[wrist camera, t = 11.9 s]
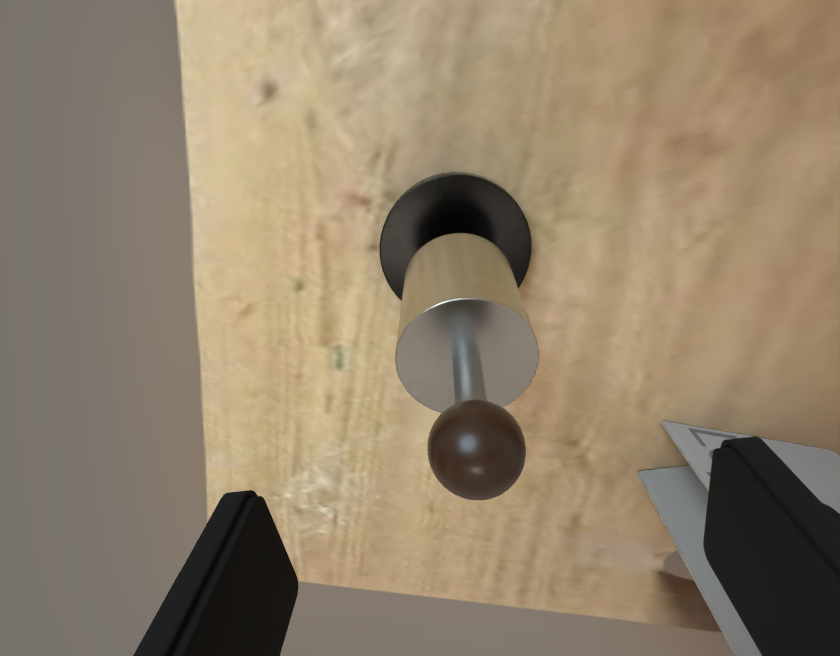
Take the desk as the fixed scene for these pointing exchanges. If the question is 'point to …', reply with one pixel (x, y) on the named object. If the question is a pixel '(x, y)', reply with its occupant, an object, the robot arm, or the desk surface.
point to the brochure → (687, 504)
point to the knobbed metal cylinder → (467, 360)
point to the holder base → (453, 222)
